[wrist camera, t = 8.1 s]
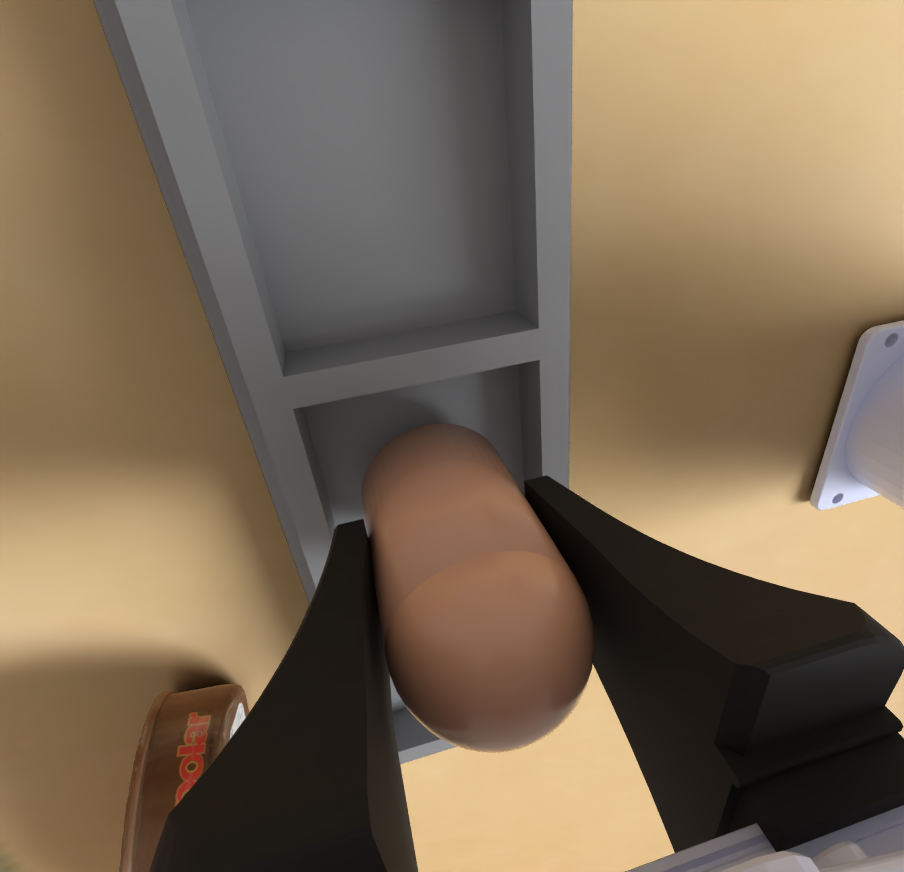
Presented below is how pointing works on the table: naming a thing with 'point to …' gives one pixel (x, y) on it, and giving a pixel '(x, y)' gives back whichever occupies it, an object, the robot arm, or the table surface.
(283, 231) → the grey compartment tray
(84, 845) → the table surface
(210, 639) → the table surface
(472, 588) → the tan rounded cylinder
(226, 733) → the tin
